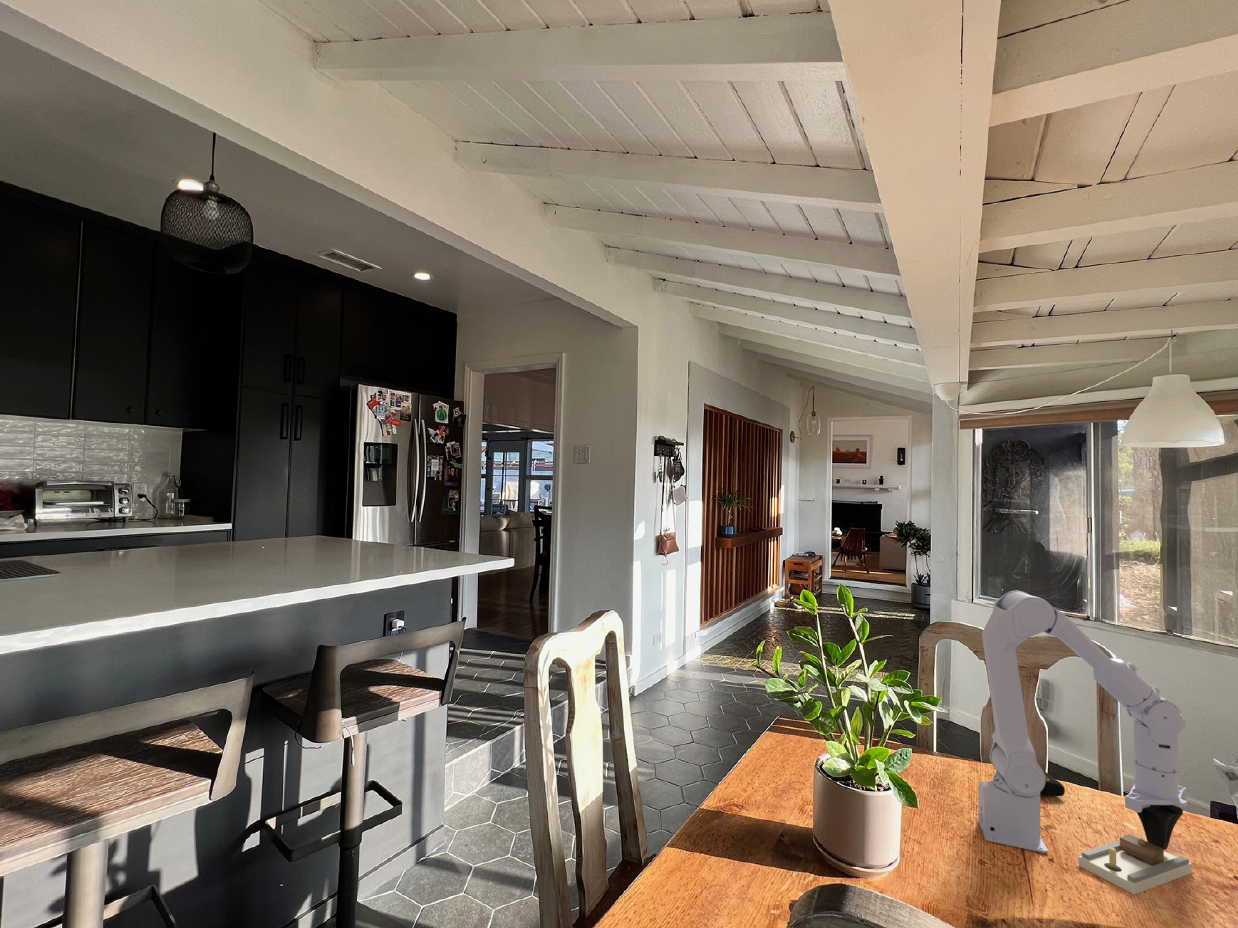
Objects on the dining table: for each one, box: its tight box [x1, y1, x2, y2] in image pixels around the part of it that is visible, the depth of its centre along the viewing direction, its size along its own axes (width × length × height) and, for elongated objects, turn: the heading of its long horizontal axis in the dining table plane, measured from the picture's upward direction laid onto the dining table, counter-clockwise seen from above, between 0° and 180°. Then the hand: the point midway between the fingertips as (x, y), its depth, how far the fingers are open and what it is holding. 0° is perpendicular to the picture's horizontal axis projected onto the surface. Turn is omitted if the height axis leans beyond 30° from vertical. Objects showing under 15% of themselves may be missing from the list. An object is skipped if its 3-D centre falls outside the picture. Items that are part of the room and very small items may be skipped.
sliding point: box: [1119, 834, 1165, 865], centre depth 103 cm, size 3×5×2 cm, turn 24°
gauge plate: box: [1078, 835, 1193, 895], centre depth 102 cm, size 16×8×4 cm, turn 113°
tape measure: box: [1040, 770, 1066, 798], centre depth 129 cm, size 7×7×4 cm
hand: (1157, 846), depth 104 cm, fingers closed
